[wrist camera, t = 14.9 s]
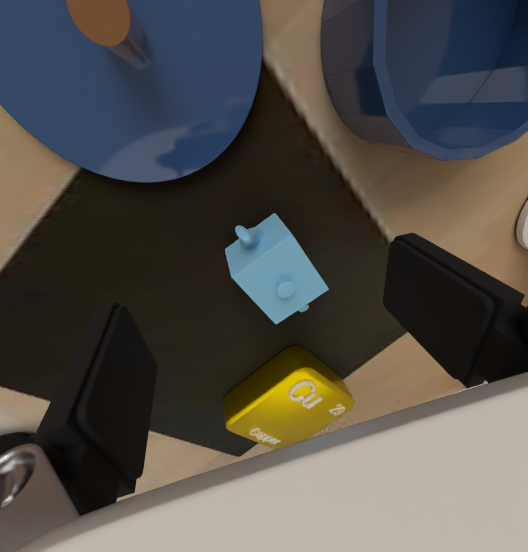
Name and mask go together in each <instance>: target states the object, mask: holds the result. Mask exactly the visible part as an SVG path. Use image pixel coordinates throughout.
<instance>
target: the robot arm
mask: <svg viewBox="0 0 528 552" xmlns="http://www.w3.org/2000/svg"><path fill="white" fill-rule="evenodd" d="M516 236H517V239H518V242H519V243H520V245H521V246H522V247H524V248H526V249H528V200H527V202H526V203H525V205H524V207H523V209H522V211H521V213H520V216H519V219H518V222H517V228H516ZM524 296H525V295H524V294H522V293H520V292H519V291H517V290H515V289H513V288H511V287H510V286H508V285H506V284H504V283H503V282H501V281H499V280H497V279H495V278H494V277H492V276H490V275H488V274H487V273H485V272H483V271H481V270H479V269H478V268H476V267H474V266H472V265H470V264H469V263H467V262H465V261H463V260H462V259H460V258H458V257H456V256H454V255H453V254H451V253H449V252H447V251H445V250H444V249H442V248H440V247H438V246H437V245H435V244H433V243H431V242H429V241H428V240H426V239H424V238H422V237H420V236H419V235H417V234H415V233H408V234H404V235H400V236H397V237H395V238H394V240H393V241H392V242H391V244H390V248H389V256H388V264H387V272H386V280H385V288H384V296H383V303H384V306H385V308H386V309H387V310H388V311H389V312H390V314H391V315H392V316H393V317H394V318H395V319H396V320H397V321H398V322H399V323H400V324H401V325H402V326H403V327H404V328H405V329H406V330H407V331H408V332H409V333H410V334H411V335H412V336H413V337H414V338H415V339H416V340H417V341H418V343H419V344H420V345H421V346H422V347H423V348H424V349H425V350H426V351H427V352H428V353H429V354H430V355H431V356H432V357H433V358H434V359H435V360H436V361H437V362H438V363H439V364H440V365H441V366H442V367H443V368H444V369H445V370H446V372H447V373H448V374H449V375H450V376H452V377H453V378H454V379H458V380H459V381H460V382H461V383H462V384H463V385H464V386H465V387H466V388H470V387H473V386H476V385H479V384H482V383H483V382H484V380H486V381H487V382H488V384H485V385H482V386H479V387H475V388H472V389H469V390H466V391H462V392H460V393H457V394H453V395H449V396H446V397H443V398H440V399H436V400H433V401H430V402H427V403H423V404H420V405H417V406H414V407H410V408H407V409H404V410H401V411H398V412H394V413H391V414H388V415H385V416H382V417H378V418H375V419H372V420H369V421H366V422H362V423H359V424H356V425H353V426H350V427H346V428H343V429H340V430H337V431H334V432H331V433H327V434H324V435H321V436H318V437H315V438H312V439H308V440H305V441H302V442H299V443H296V444H292V445H289V446H286V447H283V448H280V449H277V450H274V451H271V452H267V453H264V454H261V455H258V456H255V457H252V458H249V459H246V460H242V461H239V462H236V463H233V464H230V465H227V466H224V467H221V468H217V469H214V470H211V471H208V472H205V473H202V474H199V475H196V476H192V477H189V478H186V479H183V480H180V481H177V482H174V483H172V484H169V485H166V486H163V487H160V488H157V489H154V490H151V491H148V492H145V493H142V494H139V495H136V496H133V497H130V498H127V499H124V500H121V501H118V502H116V500H117V498H119V497H122V496H125V495H128V494H132V493H134V492H135V486H136V479H137V478H140V477H141V475H142V473H143V468H144V461H145V453H146V446H147V439H148V432H149V425H150V417H151V410H152V403H153V396H154V389H155V381H156V374H157V364H156V361H155V359H154V357H153V355H152V353H151V351H150V350H149V348H148V346H147V344H146V342H145V340H144V338H143V337H142V335H141V333H140V331H139V329H138V327H137V325H136V324H135V322H134V320H133V318H132V316H131V314H130V312H129V311H128V309H127V307H125V306H120V305H119V304H117V303H115V304H111V305H107V306H102V307H99V308H97V309H96V310H95V312H94V315H93V317H92V319H91V321H90V323H89V325H88V327H87V329H86V331H85V333H84V335H83V337H82V339H81V341H80V343H79V345H78V347H77V349H76V352H75V354H74V356H73V358H72V360H71V362H70V364H69V366H68V368H67V370H66V372H65V374H64V376H63V378H62V380H61V382H60V384H59V386H58V389H57V391H56V393H55V395H54V397H53V399H52V401H51V403H50V405H49V407H48V409H47V411H46V413H45V415H44V417H43V419H42V421H41V424H40V426H39V428H38V430H37V432H38V433H37V435H36V437H35V439H34V442H33V444H30V443H29V444H24V445H20V446H17V447H15V448H13V449H11V450H8V451H7V452H5V453H4V454H2V455H1V456H0V552H528V306H527V308H526V307H524V306H523V305H521V302H522V300H523V298H524Z"/></svg>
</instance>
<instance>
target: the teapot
mask: <svg viewBox="0 0 528 552" xmlns="http://www.w3.org/2000/svg"><path fill="white" fill-rule="evenodd" d="M235 231H236V234H237V236H238V237H239V239H238V240H237V241H235V242H234V243H233V244H231V245H230V246H229V247H227V248H226V249H225V252H226V257H227V261H228V265H229V269H230V274H231V277H232V278H233V279H234V281H235V282H236V283H237V284H238V285H239V286H240V287H241V288H242V289H243V290H244V291H245V292H246V293H247V294H248V295H249V296H250V298H251V299H252V300H253V301H254V302H255V303H256V304H257V305H258V306H259V307H260V308H261V309H262V310H263V311H264V312H265V313H266V314H267V316H268V317H269V318H270V319H271V320H272V321H273V322H274V323H275V324H278V323H279V322H281V321H282V320H284V319H285V318H287V317H288V316H290V315H291V314H293V313H294V312H296V311H297V310H298V311H299V312H304V311H306V310H307V309H308V308H309V305H308V303H309V302H311V301H312V300H314V299H315V298H317V297H318V296H320V295H321V294H323V293H324V292H326V291H327V290H329V289H328V287H327V286H326V284H325V283H324V281H323V280H322V278H321V277H320V275H319V274H318V272H317V271H316V269H315V268H314V266H313V265H312V263H311V262H310V260H309V259H308V257H307V256H306V254H305V253H304V251H303V250H302V248H301V247H300V245H299V244H298V242H297V241H296V239H295V238H294V236H293V235H292V234H291V232H290V231H289V230H288V229H287V227H286V226H285V225H284V224H283V222H282V221H281V220H280V219H279V217H278V216H277V215H276V214H275V213H273V214H272V215H271V216H269V217H268V218H267V219H265V220H264V221H263V222H261V223H260V224H259V225H257V226H256V227H253V228H250V229H246V228H244V227H243V226H236V228H235Z"/></svg>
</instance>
